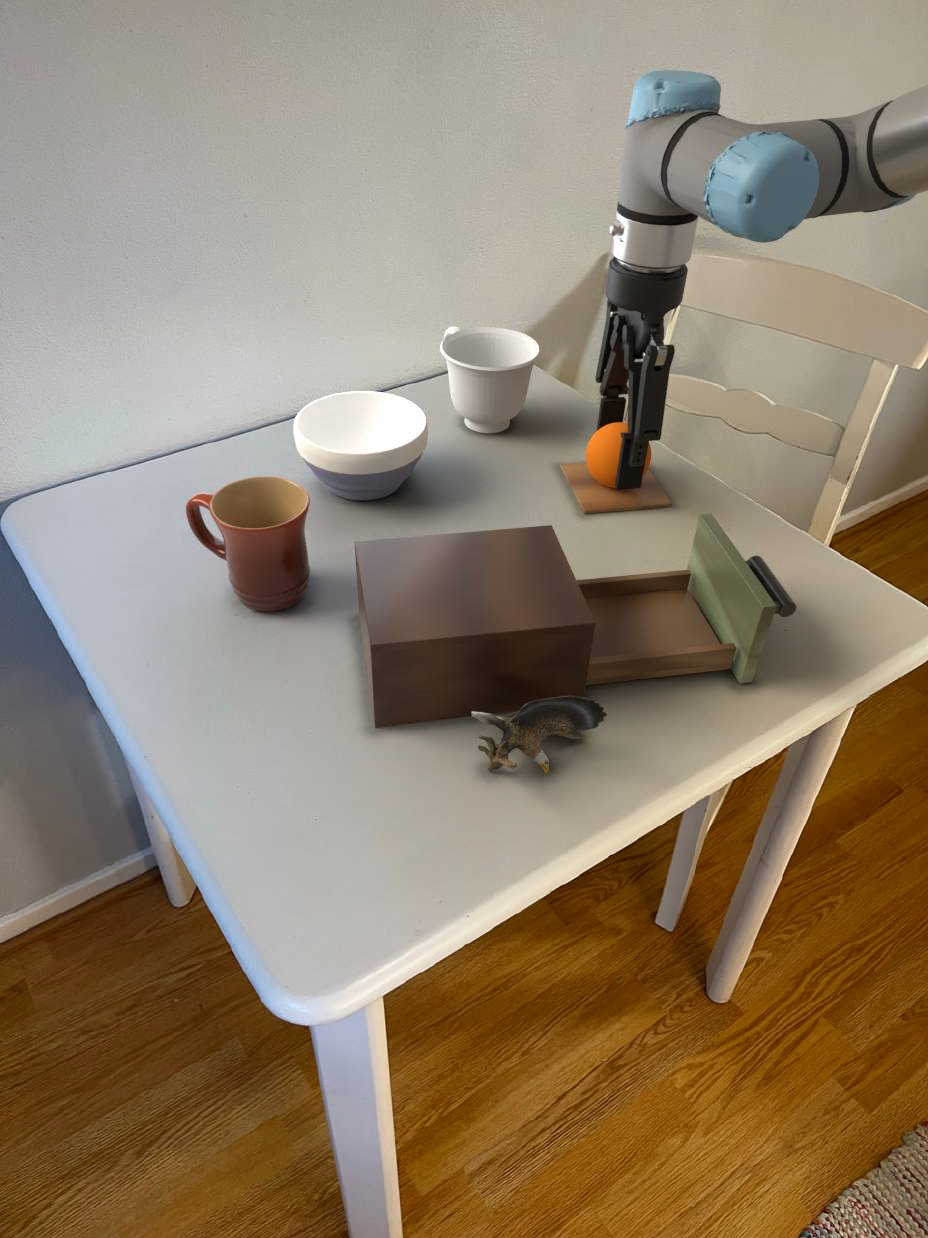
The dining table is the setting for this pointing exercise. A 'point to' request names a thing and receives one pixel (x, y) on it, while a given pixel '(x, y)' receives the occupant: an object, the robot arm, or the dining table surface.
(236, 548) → the mug
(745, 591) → the drawer
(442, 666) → the cabinet
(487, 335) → the teacup
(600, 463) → the orange
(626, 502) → the coaster
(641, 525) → the dining table surface
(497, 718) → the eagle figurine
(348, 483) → the bowl
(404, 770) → the dining table surface
